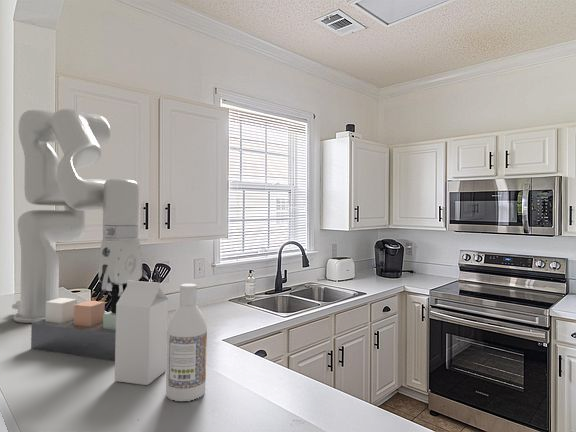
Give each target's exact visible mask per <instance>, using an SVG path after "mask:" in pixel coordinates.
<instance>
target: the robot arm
mask: <svg viewBox="0 0 576 432" xmlns="http://www.w3.org/2000/svg"><path fill="white" fill-rule="evenodd" d="M110 137H111V126H110V124H109V122H108V120H107V119H106V118H105V117H104V116H102V115H100V114H96V113H92V112H86V111H82V110H78V109H73V108H72V109H71V108H63V109H59V110H57V111H55V112H53V111H50V110H49V111H48V110H41V109H29V110H25V111H24V112H23V113H22V114H21V115H20V117H19V121H18V138H19V141H20V144H21V148H22V151H23V154H24V155H23V156H24V185H23V186H24V187H23V188H24V197H25V200H26V202H28V203H29V204H32V205H35V206H51V207H52V206H55V207H57V206H59V207H62V206H63V208H64V210H63V209H61V210H56V209H55V210H54V209H32V210H29V211H25V212H23V213H22V214H21V215H19V218H18V220H17V233H18V236H19V245H20V299H19V300H17V301H16V302H15V303H13V304H12V305H11V309H14V310H17V313H15V314H14V315H13V321H14V322H17V323H25V324H32V323H34V322H37V321H40V320H44V319H46V302H47V301H51V300H55V299H58V298H59V288H60V287H59V286H60V284H59V283H60V282H59V281H60V257H59V254H58V252H57V251H56V250H55V248H54V247H53V246H52V244H51V243H58V242H73V241H74V242H75V241H78V240H80V239H81V238H82V237H83V235H84V234H85V230H86V229H85V228H86V211H102V213H103V214H102V240H101V245H100V250H99V259H98V282H99V283H100V284H102V285H101V291H105V292H106V291H107V292H109V296H110V299H111V300H110V301H111V302H110V304H111V305H110V306H111V308H110V311H111V312H112V313H116V304H117V302H118V300H119V299H120V297H121V295H122V294H123V292H124V290H125V288H126V287H127V281H128V280H129V281H139V280H140V279H141V278H142V277H143V260H142V259H143V258H142V247H141V242H140V238H139V205H140V203H139V202H140V201H139V200H140V199H139V198H140V196H139V195H140V194H139V193H140V186H139V183H138V182H137V181H135V180H132V179H123V178H122V179H121V178H111V179H110V178H109V179H105V178H90V177H80V176H79V175H78V173H77V171H81V170H84V169H86V168H88V167H91V166H93V165H95V164H96V163H98V162H99V160H100V159H101V157H102V148H101V146H103V145H106V144H107V143H109V142H108V141H109V139H110ZM49 143H56V144H59V146H60V148H61V151H62V153H63V154H64V156H62V158H61V159H60V160H59V156H58V154H57V153H56V151H55V149H54V148H53V147H52V146H51V145H50V144H49Z"/></svg>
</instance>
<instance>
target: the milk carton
mask: <svg viewBox="0 0 576 432" xmlns="http://www.w3.org/2000/svg"><path fill="white" fill-rule="evenodd" d="M168 310H169V299H168V297H167V296H166V295H165V293H164V292H163V290H162V289H161V282H157V281H156V282H154V281H142V280H141V281H139V280H136V281H129V280H128V281H127V287H126V288H125V290H124V292H123V294H122V295H121V297H120V299H119V300H118V302H117V304H116V340H115V361H114V382H120V383H128V384H135V385H142V386H149V385H150V384H151V383H153V381H155V380H157V378H158V377H160V376H161V375H162V374H164V373H165V372H167V332H168V315H169V314H168V313H169V311H168Z"/></svg>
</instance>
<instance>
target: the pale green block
mask: <svg viewBox="0 0 576 432" xmlns="http://www.w3.org/2000/svg"><path fill="white" fill-rule="evenodd" d="M103 328H104V329H112V330H116V313H112V312H111V310H110V311H108V312H105V314H103Z"/></svg>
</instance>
